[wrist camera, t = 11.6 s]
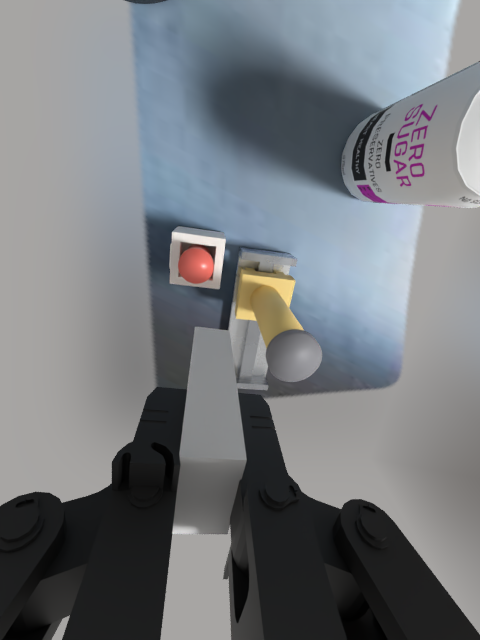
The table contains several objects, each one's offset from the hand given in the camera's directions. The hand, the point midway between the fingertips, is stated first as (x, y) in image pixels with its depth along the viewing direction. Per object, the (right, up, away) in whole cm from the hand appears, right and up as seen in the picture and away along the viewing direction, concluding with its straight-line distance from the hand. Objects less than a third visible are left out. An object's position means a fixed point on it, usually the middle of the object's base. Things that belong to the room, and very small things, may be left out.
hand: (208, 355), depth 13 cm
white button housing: (-3, +9, +19) cm, 22 cm away
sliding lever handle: (+4, +5, +20) cm, 21 cm away
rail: (+3, +2, +23) cm, 24 cm away
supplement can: (+16, +19, +17) cm, 30 cm away
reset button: (-3, +8, +17) cm, 19 cm away
